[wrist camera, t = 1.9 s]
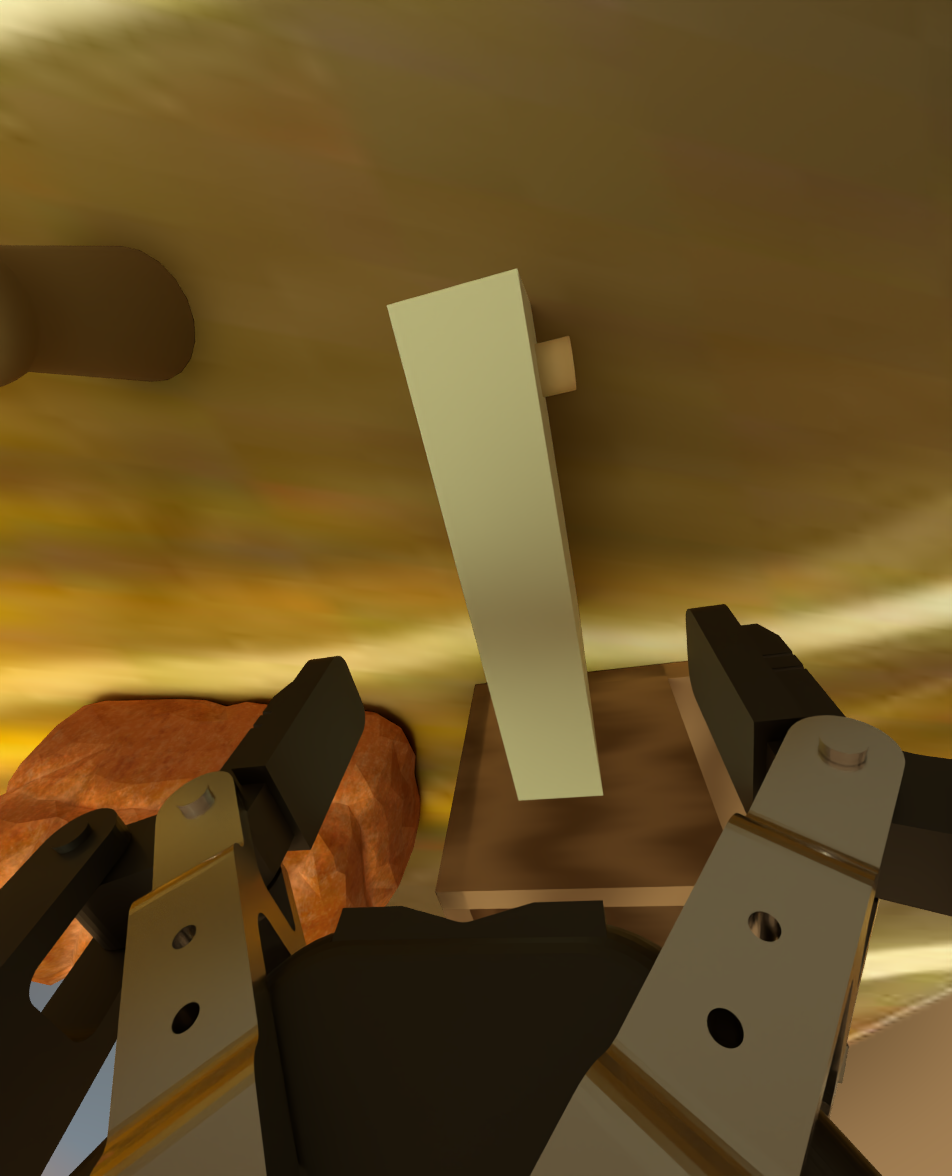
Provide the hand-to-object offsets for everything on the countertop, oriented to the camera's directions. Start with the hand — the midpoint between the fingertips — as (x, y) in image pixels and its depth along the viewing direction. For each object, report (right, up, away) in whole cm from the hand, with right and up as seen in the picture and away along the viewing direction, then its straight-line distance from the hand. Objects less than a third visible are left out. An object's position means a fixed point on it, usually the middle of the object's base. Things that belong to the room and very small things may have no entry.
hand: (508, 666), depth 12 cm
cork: (-18, +16, +14) cm, 28 cm away
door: (+2, +8, +15) cm, 17 cm away
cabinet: (+10, -12, +24) cm, 29 cm away
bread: (-18, -12, +28) cm, 35 cm away
